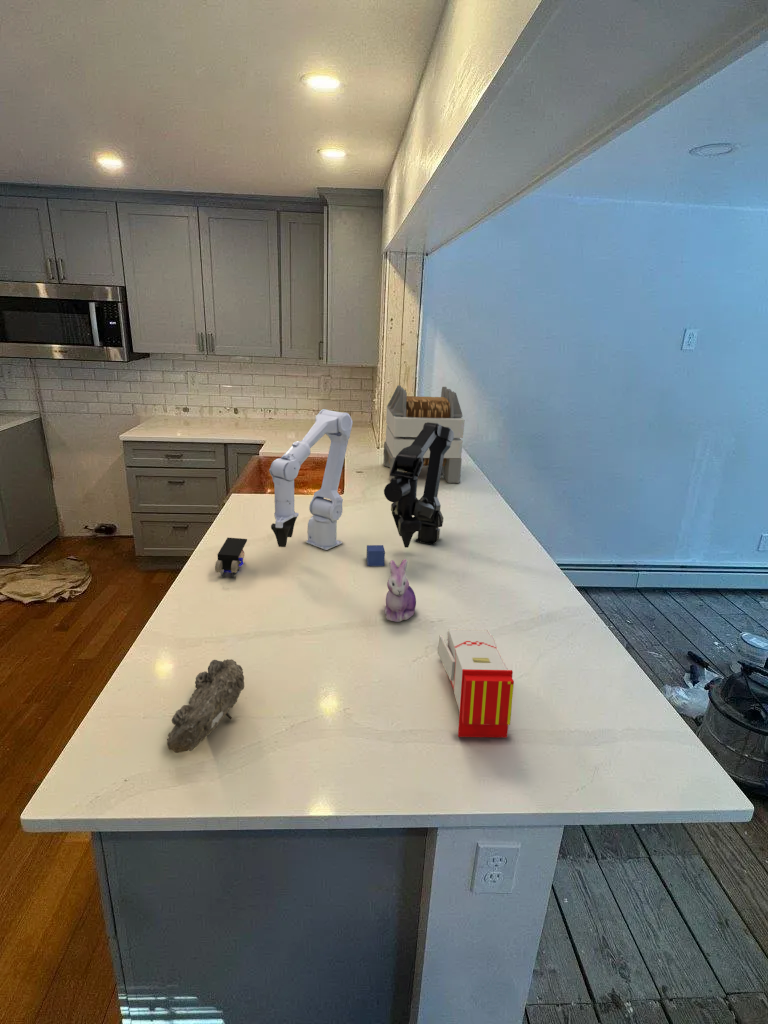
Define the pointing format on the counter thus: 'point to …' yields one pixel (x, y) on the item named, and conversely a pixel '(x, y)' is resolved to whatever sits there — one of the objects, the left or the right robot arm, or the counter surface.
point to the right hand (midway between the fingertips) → (403, 541)
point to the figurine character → (230, 556)
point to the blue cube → (375, 555)
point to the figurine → (399, 594)
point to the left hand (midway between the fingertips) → (285, 541)
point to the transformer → (409, 420)
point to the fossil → (206, 705)
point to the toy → (478, 682)
